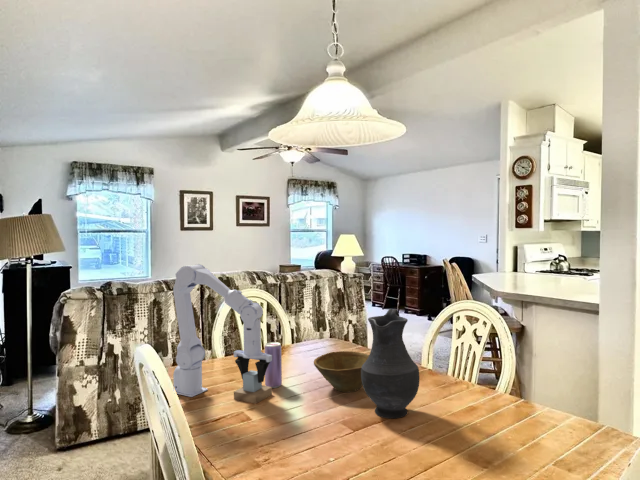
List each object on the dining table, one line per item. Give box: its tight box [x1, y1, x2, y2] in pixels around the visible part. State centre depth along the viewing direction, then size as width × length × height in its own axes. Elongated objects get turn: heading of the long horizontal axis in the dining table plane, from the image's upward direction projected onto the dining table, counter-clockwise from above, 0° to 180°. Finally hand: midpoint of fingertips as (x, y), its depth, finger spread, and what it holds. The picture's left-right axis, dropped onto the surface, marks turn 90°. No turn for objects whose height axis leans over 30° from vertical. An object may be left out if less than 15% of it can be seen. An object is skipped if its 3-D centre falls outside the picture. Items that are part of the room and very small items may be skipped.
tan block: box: [233, 385, 273, 404], centre depth 146 cm, size 9×9×3 cm
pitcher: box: [361, 308, 420, 419], centre depth 133 cm, size 17×21×30 cm
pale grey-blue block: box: [242, 370, 263, 392], centre depth 146 cm, size 4×4×6 cm
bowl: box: [313, 350, 370, 393], centre depth 154 cm, size 22×23×10 cm
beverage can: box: [264, 341, 283, 389], centre depth 157 cm, size 6×6×15 cm
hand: (252, 380), depth 146 cm, fingers open, 6 cm apart
